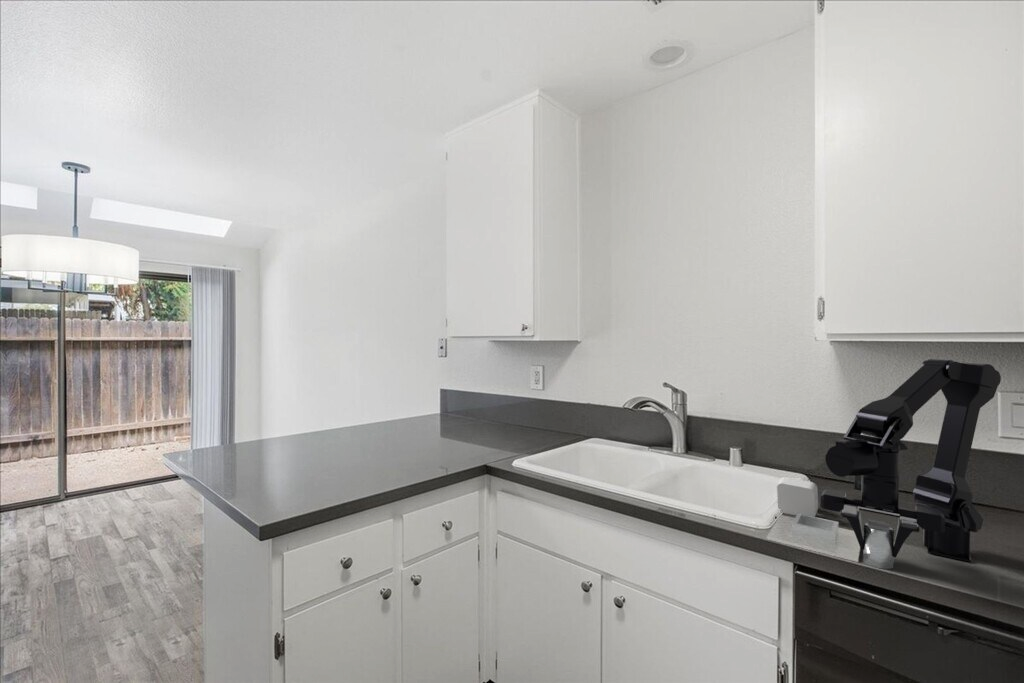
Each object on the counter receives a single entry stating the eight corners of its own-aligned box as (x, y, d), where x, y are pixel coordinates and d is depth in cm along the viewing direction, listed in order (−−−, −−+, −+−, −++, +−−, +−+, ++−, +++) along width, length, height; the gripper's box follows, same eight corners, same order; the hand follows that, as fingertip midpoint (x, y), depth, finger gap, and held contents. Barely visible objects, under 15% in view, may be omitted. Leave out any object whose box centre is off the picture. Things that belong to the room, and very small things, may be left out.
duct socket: (862, 535, 105) (862, 521, 105) (858, 562, 92) (858, 545, 92) (780, 517, 115) (780, 504, 115) (766, 539, 102) (767, 524, 102)
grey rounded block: (823, 506, 121) (822, 470, 119) (815, 527, 114) (814, 489, 112) (787, 498, 127) (786, 464, 125) (778, 518, 119) (776, 482, 117)
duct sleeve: (893, 562, 92) (893, 523, 92) (893, 571, 89) (894, 530, 89) (863, 555, 95) (864, 517, 95) (862, 563, 92) (863, 524, 91)
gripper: (941, 472, 92) (939, 552, 92) (826, 456, 104) (825, 527, 104) (946, 487, 83) (944, 574, 84) (820, 467, 95) (819, 544, 95)
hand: (878, 552), depth 92 cm, fingers closed on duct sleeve, 5 cm apart
